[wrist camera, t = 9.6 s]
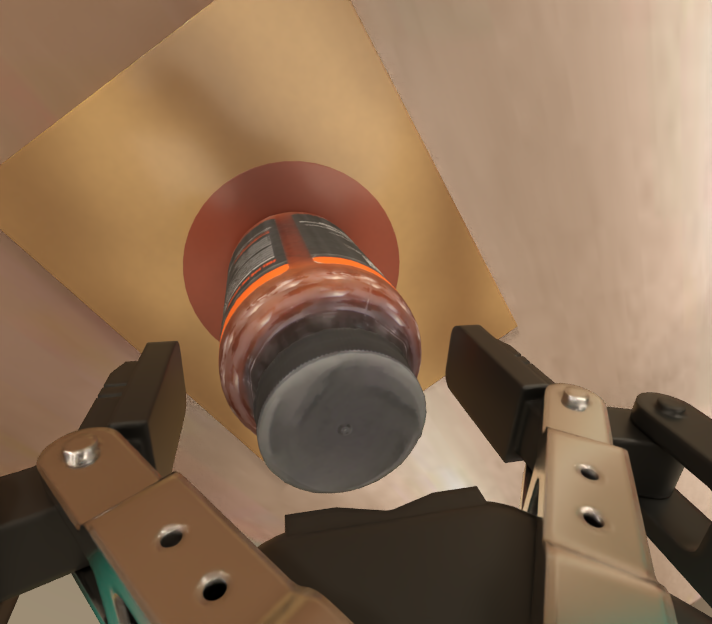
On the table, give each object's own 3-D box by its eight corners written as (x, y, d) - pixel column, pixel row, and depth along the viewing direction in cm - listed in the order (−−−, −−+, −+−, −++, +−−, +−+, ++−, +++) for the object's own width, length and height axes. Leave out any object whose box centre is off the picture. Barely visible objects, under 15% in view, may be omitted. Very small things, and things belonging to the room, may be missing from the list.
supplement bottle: (218, 320, 20) (182, 525, 9) (242, 192, 18) (229, 281, 8) (339, 339, 21) (418, 529, 11) (373, 226, 19) (504, 333, 9)
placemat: (288, 480, 25) (288, 483, 24) (-36, 194, 16) (-40, 195, 15) (515, 324, 24) (518, 326, 24) (311, -72, 15) (311, -75, 15)
